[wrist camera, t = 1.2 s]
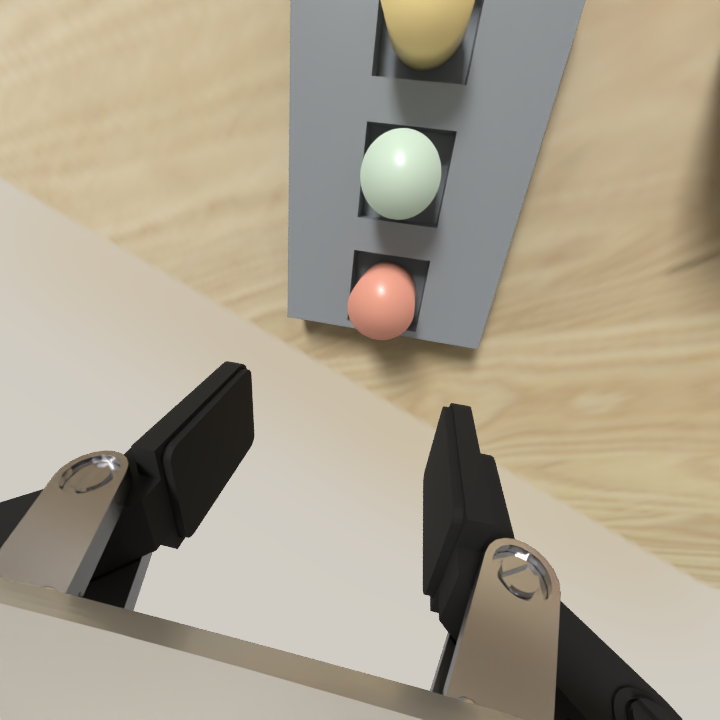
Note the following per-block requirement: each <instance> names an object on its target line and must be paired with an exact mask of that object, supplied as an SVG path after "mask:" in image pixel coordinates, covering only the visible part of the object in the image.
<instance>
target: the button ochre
mask: <svg viewBox="0 0 720 720" xmlns="http://www.w3.org/2000/svg"><path fill="white" fill-rule="evenodd" d="M474 2H475V0H381V4H382V8H383V13H384V17H385V21H386V25H387V29H388V33H389V37H390V42H391V45H392V47H393V50H394V52H395V54H396V55H397V57H398V58H399V59H400V60H401V62H402V63H404V64H405V65H406V66H408V67H409V68H411V69H414V70H418V71H428V70H433V69H436V68H438V67H440V66H441V65H443V64H444V63H446V62H447V61H448V60H449V59H450V58H451V57H452V56H453V55H454V54H455V52H456V51H457V50H458V48H459V47H460V45H461V43H462V41H463V39H464V36H465V34H466V31H467V27H468V24H469V20H470V16H471V13H472V9H473V6H474Z"/></svg>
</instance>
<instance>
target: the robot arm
mask: <svg viewBox="0 0 720 720" xmlns="http://www.w3.org/2000/svg"><path fill="white" fill-rule="evenodd" d="M253 440H254V421H253V401H252V379H251V372H250V370H247V368H246V366H245V365H244V364H239V363H234V362H224V363H223V364H222V365H221V366H220V367H219V368H218V369H216V370H215V371H214V372H213V373H212V374H211V375H210V376H209V377H208V378H206V379H205V380H204V381H203V382H202V383H201V384H200V385H199V386H198V387H197V388H195V389H194V390H193V391H192V392H191V393H190V394H189V395H188V396H186V397H185V398H184V399H183V400H182V401H181V402H180V403H179V404H178V405H176V406H175V407H174V408H173V409H172V410H171V411H170V412H169V413H167V415H165V416H164V417H163V418H162V419H161V420H160V421H159V422H157V424H155V425H154V426H153V427H152V428H151V429H150V430H149V431H147V432H146V433H145V434H144V435H143V436H142V437H141V438H140V439H139V440H138V441H136V442H135V443H134V444H133V445H132V446H131V448H130V449H129V450H128V451H127V452H126V453H125V454H124V455H123V454H121V453H119V452H115V451H99V452H93V453H90V454H86V455H83V456H81V457H78V458H76V459H74V460H72V461H70V462H69V463H68V464H66V465H64V466H63V467H62V468H60V469H59V470H58V472H57V473H56V474H55V475H54V476H53V477H52V478H51V480H50V481H49V483H48V484H47V485H46V487H45V488H44V489H42V490H39V491H36V492H33V493H29V494H26V495H23V496H20V497H16V498H13V499H10V500H7V501H3V502H1V503H0V720H682V718H681V717H680V716H679V715H678V714H677V713H676V712H675V710H673V708H672V707H671V706H670V705H669V704H668V703H667V702H666V701H665V700H664V699H663V698H662V697H661V696H660V695H659V694H658V693H657V692H656V691H655V690H654V689H653V688H651V686H650V685H648V684H647V683H646V682H645V681H644V680H643V679H642V678H641V677H640V676H639V675H638V674H637V673H636V672H635V671H634V670H633V669H632V668H631V667H630V666H629V665H627V664H626V663H625V662H624V661H623V660H622V659H621V658H620V657H619V656H618V655H617V654H616V653H615V652H614V651H613V650H612V649H611V648H609V647H608V646H607V645H606V644H605V643H604V642H603V641H602V640H601V639H600V638H599V637H598V636H597V635H596V634H595V633H594V632H593V631H592V630H591V629H590V628H588V626H586V625H585V624H584V623H583V622H582V621H581V620H580V619H579V618H578V617H577V616H576V615H575V614H574V613H573V612H572V611H570V609H569V608H567V607H566V606H565V605H564V604H563V603H562V602H561V601H560V597H561V596H560V595H561V592H560V585H559V580H558V578H557V576H556V573H555V571H554V569H553V568H552V567H551V565H550V564H549V563H548V561H547V560H546V559H545V558H544V557H543V556H542V555H541V554H540V553H539V552H538V551H537V550H535V549H534V548H532V547H531V546H529V545H528V544H526V543H523V542H521V541H518V540H516V539H515V538H514V534H513V531H512V526H511V523H510V518H509V514H508V511H507V507H506V503H505V499H504V495H503V491H502V487H501V483H500V479H499V475H498V471H497V467H496V463H495V460H494V458H493V457H492V456H491V455H486V454H481V453H480V449H479V444H478V439H477V434H476V430H475V425H474V420H473V415H472V410H471V407H470V406H465V405H459V404H454V403H451V404H450V406H449V407H443V408H442V411H441V415H440V419H439V422H438V426H437V429H436V433H435V437H434V440H433V444H432V447H431V451H430V454H429V458H428V462H427V465H426V469H425V473H424V480H423V593H424V594H425V595H429V596H430V607H431V608H430V609H431V611H433V612H437V613H439V620H440V622H441V623H442V624H443V626H444V627H445V628H446V630H447V631H448V634H447V638H446V641H445V644H444V647H443V651H442V654H441V657H440V660H439V663H438V667H437V670H436V673H435V677H434V680H433V683H432V686H431V689H430V691H428V690H424V689H421V688H417V687H413V686H410V685H406V684H402V683H398V682H395V681H391V680H387V679H384V678H381V677H377V676H373V675H370V674H366V673H362V672H359V671H355V670H351V669H348V668H344V667H340V666H336V665H333V664H329V663H326V662H322V661H318V660H315V659H311V658H307V657H303V656H300V655H296V654H293V653H289V652H285V651H281V650H278V649H274V648H270V647H266V646H262V645H259V644H255V643H251V642H248V641H244V640H240V639H237V638H233V637H229V636H225V635H222V634H218V633H214V632H210V631H207V630H203V629H199V628H195V627H191V626H188V625H184V624H180V623H176V622H173V621H169V620H165V619H161V618H158V617H153V616H150V615H146V614H142V613H139V612H135V611H133V610H134V607H135V604H136V601H137V598H138V595H139V592H140V589H141V586H142V582H143V580H144V577H145V573H146V570H147V568H148V564H149V561H150V558H151V555H152V552H154V551H156V550H157V549H158V547H159V546H160V545H164V546H168V547H172V548H176V549H178V547H179V546H180V544H181V543H182V541H183V540H184V539H185V537H188V538H189V537H191V536H192V535H193V534H194V532H195V531H196V529H197V528H198V526H199V525H200V523H201V522H202V520H203V519H204V517H205V516H206V514H207V513H208V511H209V510H210V508H211V507H212V505H213V503H214V502H215V500H216V499H217V497H218V496H219V494H220V493H221V491H222V490H223V488H224V487H225V485H226V484H227V482H228V481H229V479H230V478H231V476H232V474H233V473H234V472H235V470H236V469H237V467H238V465H239V464H240V462H241V461H242V459H243V458H244V456H245V455H246V453H247V452H248V450H249V449H250V447H251V445H252V443H253Z"/></svg>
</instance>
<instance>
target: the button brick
mask: <svg viewBox="0 0 720 720" xmlns="http://www.w3.org/2000/svg"><path fill="white" fill-rule="evenodd" d="M415 297H416V285H415V281H414V278H413V276H412V275H411V273H410V272H409V271H408V270H407V269H406V268H405V267H404V266H402V265H400V264H398V263H395V262H389V261H384V262H379V263H376V264H374V265H372V266H371V267H369V268H368V269H367V270H366V271H365V272H364V274H363V275H362V277H361V278H360V280H359V281H358V283H357V284H356V286H355V287H354V289H353V290H352V292H351V294H350V296H349V299H348V307H347V308H348V315H349V318H350V320H351V322H352V324H353V325H354V327H355V328H356V329H357V330H358V331H359V332H360V333H361V334H363V335H365V336H366V337H369V338H371V339H375V340H389V339H392V338H395V337H397V336H399V335H401V334H402V333H403V332H404V331H405V330H406V329H407V328H408V327H409V326H410V324H411V322H412V320H413V316H414V310H415Z"/></svg>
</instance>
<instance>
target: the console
mask: <svg viewBox="0 0 720 720" xmlns="http://www.w3.org/2000/svg"><path fill="white" fill-rule="evenodd" d="M585 1H586V0H475V2H474V6H473V9H472V13H471V16H470V20H469V24H468V27H467V31H466V34H465V36H464V39H463V41H462V43H461V45H460V47H459V48H458V50H457V51H456V52H455V54H454V55H453V56H452V57H451V58H450V59H449V60H448V61H447V62H446V63H444V64H443V65H441V66H440V67H438V68H436V69H433V70H428V71H418V70H414V69H411V68H409V67H408V66H406V65H405V64H404V63H402V62H401V60H400V59H399V58H398V57H397V55H396V54H395V52H394V50H393V47H392V45H391V42H390V37H389V33H388V29H387V25H386V21H385V17H384V13H383V8H382V4H381V0H291V14H290V121H289V227H288V317H291V318H297V319H303V320H309V321H315V322H321V323H327V324H333V325H338V326H344V327H350V328H355V327H354V325H353V324H352V322H351V320H350V318H349V315H348V308H347V307H348V299H349V296H350V294H351V292H352V290H353V289H354V287H355V286H356V284H357V283H358V281H359V280H360V278H361V277H362V275H363V274H364V272H365V271H366V270H367V269H368V268H369V267H371V266H372V265H374V264H376V263H379V262H384V261H389V262H395V263H398V264H400V265H402V266H404V267H405V268H406V269H407V270H408V271H409V272H410V273H411V275H412V276H413V278H414V281H415V285H416V297H415V310H414V316H413V320H412V322H411V324H410V326H409V327H408V328H407V329H406V330H405V331H404V332H403V333H402V334H401V335H399V336H403V337H409V338H415V339H421V340H427V341H433V342H439V343H444V344H450V345H456V346H462V347H468V348H474V349H478V347H479V344H480V340H481V337H482V334H483V331H484V327H485V324H486V321H487V318H488V314H489V311H490V308H491V305H492V302H493V298H494V295H495V292H496V289H497V285H498V282H499V279H500V276H501V272H502V269H503V266H504V263H505V260H506V256H507V253H508V250H509V247H510V243H511V240H512V237H513V234H514V230H515V227H516V224H517V221H518V217H519V214H520V211H521V208H522V205H523V201H524V198H525V195H526V192H527V188H528V185H529V182H530V179H531V175H532V172H533V169H534V166H535V162H536V159H537V156H538V153H539V150H540V146H541V143H542V140H543V137H544V133H545V130H546V127H547V124H548V120H549V117H550V114H551V111H552V107H553V104H554V101H555V98H556V95H557V91H558V88H559V85H560V82H561V78H562V75H563V72H564V69H565V65H566V62H567V59H568V56H569V53H570V49H571V46H572V43H573V40H574V36H575V33H576V30H577V27H578V23H579V20H580V17H581V14H582V10H583V7H584V4H585ZM397 128H409V129H413V130H416V131H418V132H420V133H422V134H423V135H425V136H426V137H427V138H428V139H429V140H430V141H431V142H432V143H433V145H434V146H435V148H436V150H437V152H438V155H439V158H440V162H441V180H440V185H439V188H438V191H437V193H436V195H435V197H434V199H433V200H432V202H431V203H430V204H429V205H428V207H427V208H425V209H424V210H423V211H422V212H421V213H419V214H417V215H415V216H414V217H411V218H408V219H402V220H395V219H389V218H386V217H384V216H382V215H380V214H379V213H377V212H376V211H375V210H374V209H373V208H372V207H371V206H370V205H369V204H368V202H367V200H366V199H365V196H364V194H363V191H362V187H361V181H360V171H361V165H362V162H363V158H364V156H365V154H366V152H367V150H368V148H369V147H370V145H371V144H372V143H373V142H374V141H375V140H376V139H377V138H378V137H379V136H381V135H382V134H384V133H385V132H388V131H390V130H393V129H397Z"/></svg>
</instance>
